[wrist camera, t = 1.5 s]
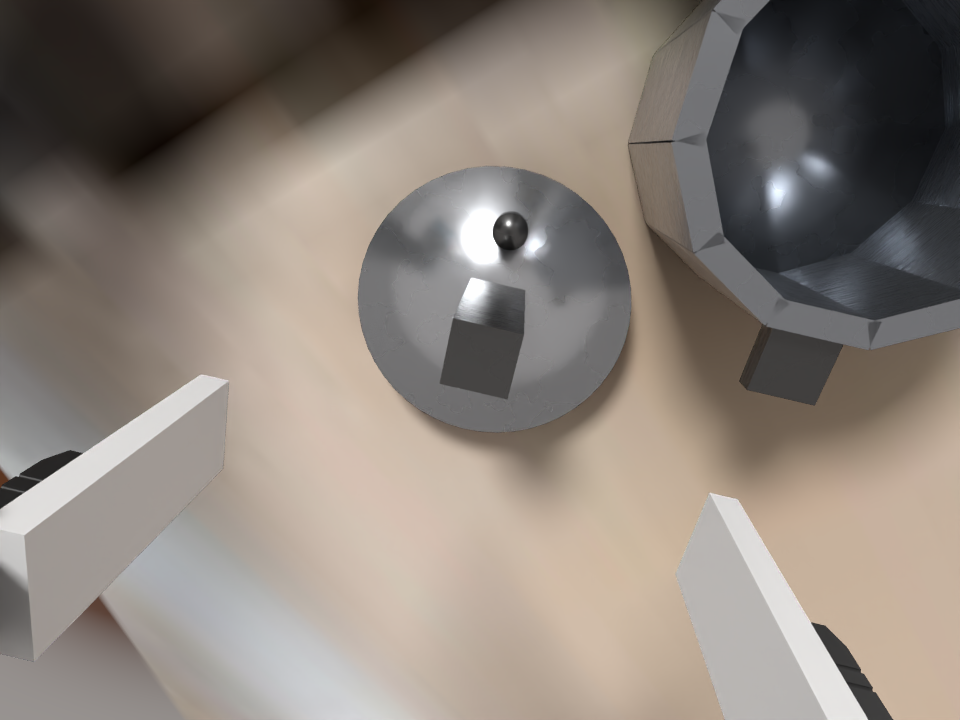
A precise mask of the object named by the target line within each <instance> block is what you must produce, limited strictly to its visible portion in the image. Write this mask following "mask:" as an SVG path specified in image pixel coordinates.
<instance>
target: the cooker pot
mask: <svg viewBox="0 0 960 720" xmlns="http://www.w3.org/2000/svg"><path fill="white" fill-rule="evenodd" d="M628 143H630V144H628V147H629V152H630V156H631V161H632V165H633V170H634V174H635V179H636V183H637V188H638V192H639V197H640V201H641V206H642V210H643V215H644V219H645V222H646V224H647V225H648V226H649V227H650V228H651V229H652V230H653V231H654V232H655V233H656V234H657V235H658V236H659V237H660V238H661V239H662V240H663V241H664V242H665V243H666V244H667V245H668V246H669V247H670V248H671V249H672V250H673V251H674V252H675V253H676V254H677V255H678V256H679V257H680V258H681V259H682V260H683V261H684V262H685V263H686V264H687V265H688V266H689V267H690V268H691V269H692V270H693V271H694V272H695V273H696V274H697V275H698V276H699V277H700V278H702V279H703V280H704V281H706V282H707V283H708V284H710V285H711V286H712V287H714V288H715V289H716V290H718V291H719V292H720V293H722V294H723V295H725V296H726V297H727V298H729V299H730V300H731V301H733V302H734V303H735V304H737V305H738V306H739V307H741V308H742V309H743V310H745V311H746V312H747V313H749V314H750V315H751V316H753V317H754V318H755V319H757V320H758V321H759V322H761V323H762V327H761V329H760V332H759V334H758V336H757V339H756V341H755V344H754V346H753V349H752V351H751V354H750V356H749V358H748V361H747V363H746V366H745V368H744V371H743V373H742V376H741V378H740V380H739V381H740V383H741V384H742V385H743V386H744V387H745V388H746V389H747V390H750V391H754V392H759V393H763V394H767V395H771V396H776V397H780V398H784V399H789V400H793V401H797V402H802V403H806V404H810V405H815V404H816V402H817V400H818V398H819V396H820V393H821V391H822V389H823V387H824V385H825V383H826V381H827V378H828V376H829V374H830V372H831V370H832V368H833V366H834V363H835V361H836V359H837V357H838V355H839V353H840V351H841V349H842V346H843V344H844V345H848V346H853V347H857V348H861V349H866V350H873V349H877V348H881V347H885V346H889V345H893V344H897V343H901V342H905V341H909V340H913V339H917V338H922V337H926V336H930V335H934V334H938V333H942V332H946V331H950V330H954V329H958V328H960V0H703V1H702V2H701V3H700V4H699V5H698V6H697V7H696V8H695V10H694V11H693V12H692V13H691V14H690V15H689V16H688V17H687V18H686V20H685V21H684V22H683V23H682V24H681V25H680V26H679V27H678V28H677V29H676V31H675V32H674V33H673V34H672V35H671V36H670V37H669V38H668V39H667V40H666V42H665V43H664V44H663V45H662V46H661V47H660V48H659V49H658V50H657V51H656V53H655V54H654V56H653V58H652V61H651V65H650V68H649V72H648V75H647V79H646V82H645V86H644V89H643V93H642V96H641V100H640V103H639V106H638V110H637V113H636V117H635V120H634V124H633V127H632V131H631V134H630V138H629V141H628Z"/></svg>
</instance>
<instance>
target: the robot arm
mask: <svg viewBox="0 0 960 720" xmlns="http://www.w3.org/2000/svg"><path fill="white" fill-rule="evenodd" d="M228 390H229V381H228V380H224V379H220V378H216V377H211V376H207V375H203V374H201V375H199V376H198V377H196V378H195V379H193V380H192V381H190V382H189V383H187V384H186V385H184V386H183V387H181V388H180V389H178V390H177V391H175V392H174V393H172V394H171V395H169V396H168V397H166V398H165V399H163V400H162V401H160V402H159V403H158V404H156V405H155V406H153V407H152V408H150V409H149V410H147V411H146V412H144V413H143V414H141V415H140V416H138V417H137V418H135V419H134V420H132V421H131V422H129V423H128V424H126V425H125V426H123V427H122V428H120V429H119V430H117V431H116V432H114V433H113V434H111V435H110V436H108V437H107V438H105V439H104V440H102V441H101V442H99V443H98V444H96V445H95V446H93V447H92V448H90V449H89V450H88V451H86V452H85V453H79V452H75V451H71V450H69V451H66V452H64V453H61V454H58V455H55V456H52V457H49V458H46V459H43V460H41V461H39V462H38V463H36V464H35V465H33V466H32V467H30V468H28V469H27V470H25V471H24V472H22V473H20V476H19V477H14V478H12V479H11V480H9V481H8V482H6V483H4V484H3V485H2V487H1V488H0V654H2V655H6V656H11V657H15V658H19V659H23V660H27V661H32V662H35V661H36V660H37V659H38V658H39V657H40V656H41V655H42V653H44V652H45V651H46V650H47V648H48V647H49V646H50V645H51V644H52V643H53V642H54V641H55V640H56V639H57V638H58V637H59V636H60V635H61V634H62V633H63V632H64V631H65V630H66V629H67V628H68V627H69V626H70V625H71V624H72V623H73V622H74V621H75V620H76V619H77V618H78V617H79V616H80V614H82V612H84V610H86V609H87V607H89V605H90V604H91V603H92V602H93V601H94V600H95V599H96V598H97V597H98V596H99V595H100V594H101V593H102V592H103V591H104V590H105V589H106V588H107V587H108V586H109V585H110V584H111V583H112V582H113V581H114V580H115V579H116V578H117V577H118V576H119V575H120V574H121V573H122V572H123V571H124V570H125V569H126V568H127V567H128V566H129V564H130V563H131V562H132V561H133V560H134V559H135V558H136V557H137V556H138V555H139V554H140V553H141V552H142V551H143V550H144V549H145V548H146V547H147V546H148V545H149V544H150V543H151V542H152V541H153V540H154V539H155V538H156V537H157V536H158V535H159V534H160V533H161V532H162V531H163V530H164V529H165V528H166V527H167V526H168V525H169V524H170V522H171V521H172V520H173V519H174V518H175V517H176V516H177V515H178V514H179V513H180V512H181V511H182V510H183V509H184V508H185V507H186V506H187V505H188V504H189V503H190V502H191V501H192V500H193V499H194V498H195V497H196V496H197V495H198V494H199V493H200V492H201V491H202V490H203V489H204V488H205V487H206V486H207V485H208V484H209V483H210V481H211V480H212V479H213V478H214V477H215V476H216V475H217V474H218V473H219V472H220V471H221V470H222V469H223V466H224V451H225V435H226V420H227V405H228ZM675 575H676V577H677V580H678V583H679V586H680V589H681V592H682V595H683V598H684V601H685V604H686V607H687V610H688V613H689V616H690V619H691V622H692V625H693V627H694V630H695V633H696V636H697V639H698V642H699V645H700V648H701V651H702V654H703V657H704V660H705V663H706V666H707V669H708V672H709V675H710V678H711V680H712V683H713V686H714V689H715V692H716V695H717V698H718V701H719V704H720V707H721V710H722V713H723V716H724V719H725V720H893V719H892V717H891V716H890V714H889V713H888V711H887V709H886V708H885V706H884V705H883V703H882V702H881V700H880V698H879V697H878V695H877V694H876V692H873V691H872V688H873V687H872V686H871V684H870V683H869V681H868V680H867V678H866V676H865V675H864V674H862V673H861V669H860V667H859V665H858V664H857V662H856V661H855V659H854V658H853V656H852V654H851V653H850V651H849V650H848V648H847V647H846V646H845V645H844V644H843V643H842V642H841V641H840V640H839V639H838V638H837V637H836V636H835V635H834V634H833V633H832V632H831V631H830V630H829V629H828V628H827V627H826V626H824V625H820V624H816V623H812V622H810V621H809V619H808V617H807V616H806V614H805V612H804V610H803V609H802V607H801V605H800V604H799V602H798V600H797V599H796V597H795V595H794V594H793V592H792V590H791V589H790V587H789V585H788V583H787V582H786V580H785V578H784V577H783V575H782V573H781V572H780V570H779V568H778V567H777V565H776V563H775V562H774V560H773V558H772V556H771V555H770V553H769V551H768V550H767V548H766V546H765V545H764V543H763V541H762V540H761V538H760V536H759V535H758V533H757V531H756V529H755V528H754V526H753V524H752V523H751V521H750V519H749V518H748V516H747V514H746V513H745V511H744V509H743V508H742V506H741V504H740V502H739V501H738V499H734V498H730V497H726V496H722V495H717V494H713V493H709V495H708V497H707V500H706V502H705V504H704V507H703V509H702V512H701V514H700V516H699V519H698V521H697V524H696V526H695V528H694V531H693V533H692V536H691V538H690V540H689V543H688V545H687V548H686V550H685V552H684V555H683V557H682V560H681V562H680V564H679V567H678V569H677V572H676V574H675Z"/></svg>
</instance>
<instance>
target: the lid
mask: <svg viewBox="0 0 960 720" xmlns="http://www.w3.org/2000/svg"><path fill="white" fill-rule="evenodd" d="M358 306H359V317H360V322H361V327H362V332H363V335H364V338H365V341H366V344H367V347H368V349H369V351H370V353H371V355H372V357H373V359H374V361H375V363H376V365H377V366H378V368H379V369H380V371H381V372H382V374H383V376H384V377H385V378H386V379H387V380H388V382H389V383H390V384H391V385H392V386H393V388H394V389H395V390H396V391H397V392H398V393H400V394H401V395H402V396H403V397H404V398H405V399H406V400H407V401H408V402H410V403H411V404H413V405H414V406H415V407H417V408H418V409H419V410H421V411H423V412H424V413H426V414H428V415H430V416H431V417H433V418H435V419H438V420H440V421H442V422H445V423H447V424H450V425H453V426H456V427H460V428H463V429H468V430H474V431H480V432H497V433H498V432H513V431H519V430H524V429H530V428H533V427H536V426H539V425H543V424H546V423H548V422H550V421H552V420H555V419H557V418H559V417H561V416H563V415H565V414H566V413H568V412H569V411H571V410H573V409H574V408H576V407H577V406H578V405H580V404H581V403H582V402H583V401H585V400H586V399H587V398H588V397H589V396H590V395H591V394H592V393H593V392H594V391H595V390H596V389H597V388H598V387H599V386H600V385H601V384H602V382H603V381H604V380H605V378H606V377H607V376H608V374H609V373H610V372H611V370H612V368H613V366H614V364H615V363H616V361H617V359H618V357H619V355H620V352H621V350H622V347H623V345H624V342H625V339H626V335H627V331H628V327H629V323H630V314H631V287H630V281H629V275H628V270H627V266H626V263H625V260H624V257H623V254H622V251H621V249H620V247H619V245H618V243H617V241H616V239H615V237H614V235H613V234H612V232H611V231H610V229H609V228H608V226H607V224H606V223H605V221H604V220H603V219H602V218H601V217H600V216H599V214H598V213H597V212H596V211H595V210H594V209H593V208H592V207H591V206H590V205H589V204H588V203H587V202H586V201H585V200H583V199H582V198H581V197H580V196H579V195H578V194H576V193H575V192H573V191H572V190H570V189H569V188H567V187H566V186H564V185H563V184H561V183H559V182H557V181H555V180H553V179H551V178H548V177H546V176H544V175H541V174H538V173H535V172H532V171H528V170H525V169H519V168H513V167H506V166H483V167H475V168H467V169H463V170H460V171H456V172H452V173H448V174H446V175H444V176H441V177H439V178H436V179H434V180H432V181H430V182H428V183H426V184H425V185H423V186H421V187H420V188H418V189H416V190H415V191H413V192H412V193H411V194H410V195H408V196H407V197H406V198H405V199H403V200H402V201H401V202H400V203H399V204H398V205H397V206H396V207H395V208H394V209H393V210H392V211H391V212H390V213H389V214H388V215H387V217H386V218H385V220H384V221H383V222H382V224H381V225H380V227H379V228H378V229H377V231H376V233H375V235H374V237H373V239H372V241H371V243H370V244H369V247H368V249H367V252H366V255H365V258H364V261H363V264H362V269H361V273H360V278H359V289H358Z"/></svg>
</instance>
